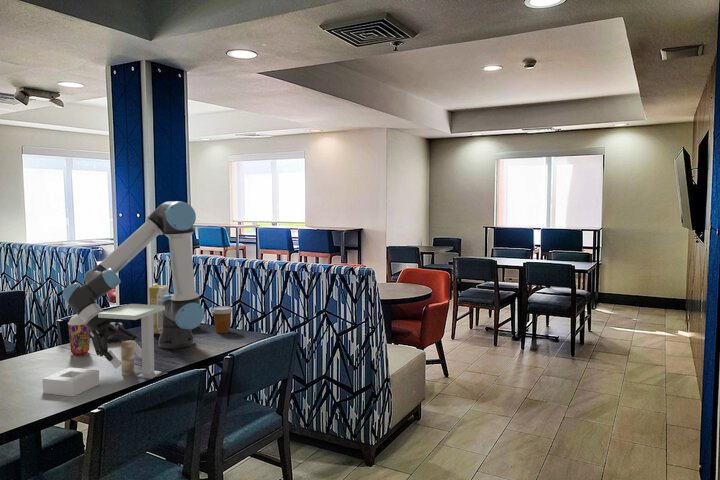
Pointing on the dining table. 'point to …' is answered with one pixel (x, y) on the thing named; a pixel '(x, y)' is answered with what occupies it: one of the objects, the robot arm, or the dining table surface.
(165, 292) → the juice carton
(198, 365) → the dining table surface
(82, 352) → the smoothie
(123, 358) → the peg
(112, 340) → the jar
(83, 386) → the socket
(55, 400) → the dining table surface
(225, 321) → the disposable coffee cup
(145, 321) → the white pedestal side table
